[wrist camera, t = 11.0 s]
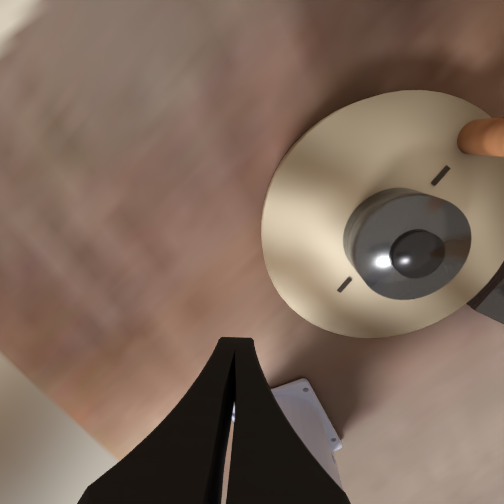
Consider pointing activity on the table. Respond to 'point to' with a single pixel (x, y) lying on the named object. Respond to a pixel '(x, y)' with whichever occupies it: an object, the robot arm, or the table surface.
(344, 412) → the table surface
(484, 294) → the grey and clear piece
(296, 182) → the turntable
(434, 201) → the iron cover
